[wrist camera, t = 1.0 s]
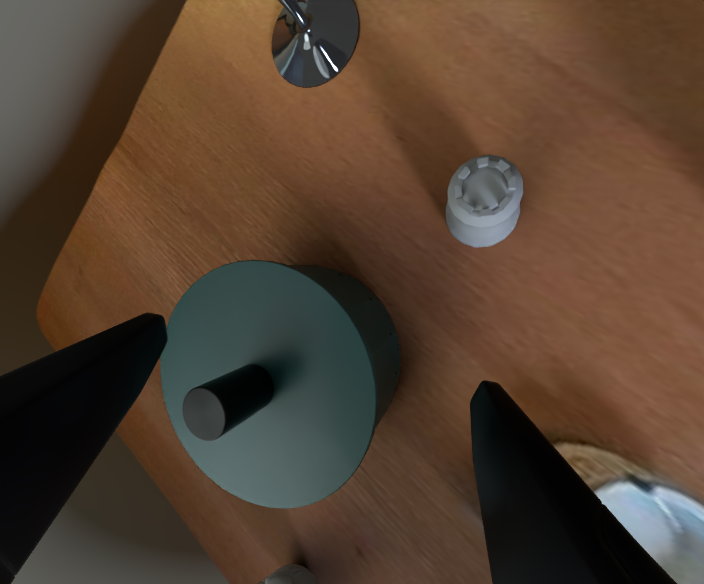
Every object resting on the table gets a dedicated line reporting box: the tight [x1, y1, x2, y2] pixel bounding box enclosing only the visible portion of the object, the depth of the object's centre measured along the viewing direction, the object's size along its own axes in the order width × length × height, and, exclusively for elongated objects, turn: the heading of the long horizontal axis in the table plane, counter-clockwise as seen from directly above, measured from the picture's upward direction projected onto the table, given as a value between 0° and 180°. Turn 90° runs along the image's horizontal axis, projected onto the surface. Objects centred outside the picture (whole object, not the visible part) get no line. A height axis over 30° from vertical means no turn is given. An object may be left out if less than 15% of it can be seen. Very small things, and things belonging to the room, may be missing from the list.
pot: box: [288, 265, 400, 428], centre depth 24 cm, size 14×14×8 cm
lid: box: [161, 260, 379, 508], centre depth 18 cm, size 14×14×5 cm
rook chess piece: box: [446, 155, 523, 247], centre depth 19 cm, size 4×4×8 cm
